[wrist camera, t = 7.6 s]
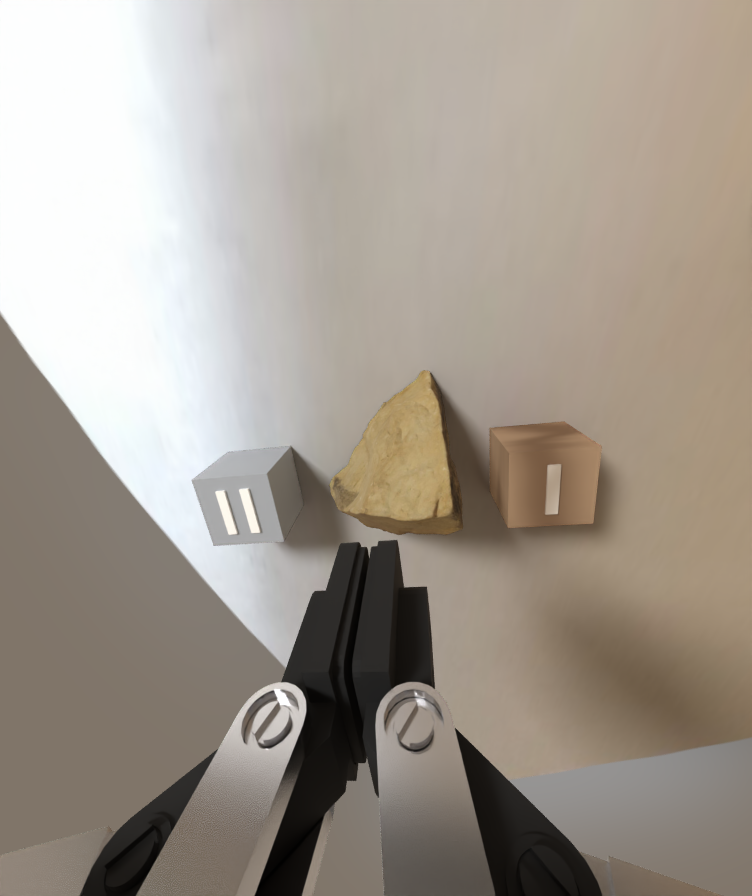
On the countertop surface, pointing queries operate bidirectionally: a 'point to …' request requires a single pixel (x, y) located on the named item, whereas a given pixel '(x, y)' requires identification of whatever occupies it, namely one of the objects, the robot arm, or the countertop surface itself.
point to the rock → (404, 467)
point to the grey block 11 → (250, 496)
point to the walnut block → (543, 474)
